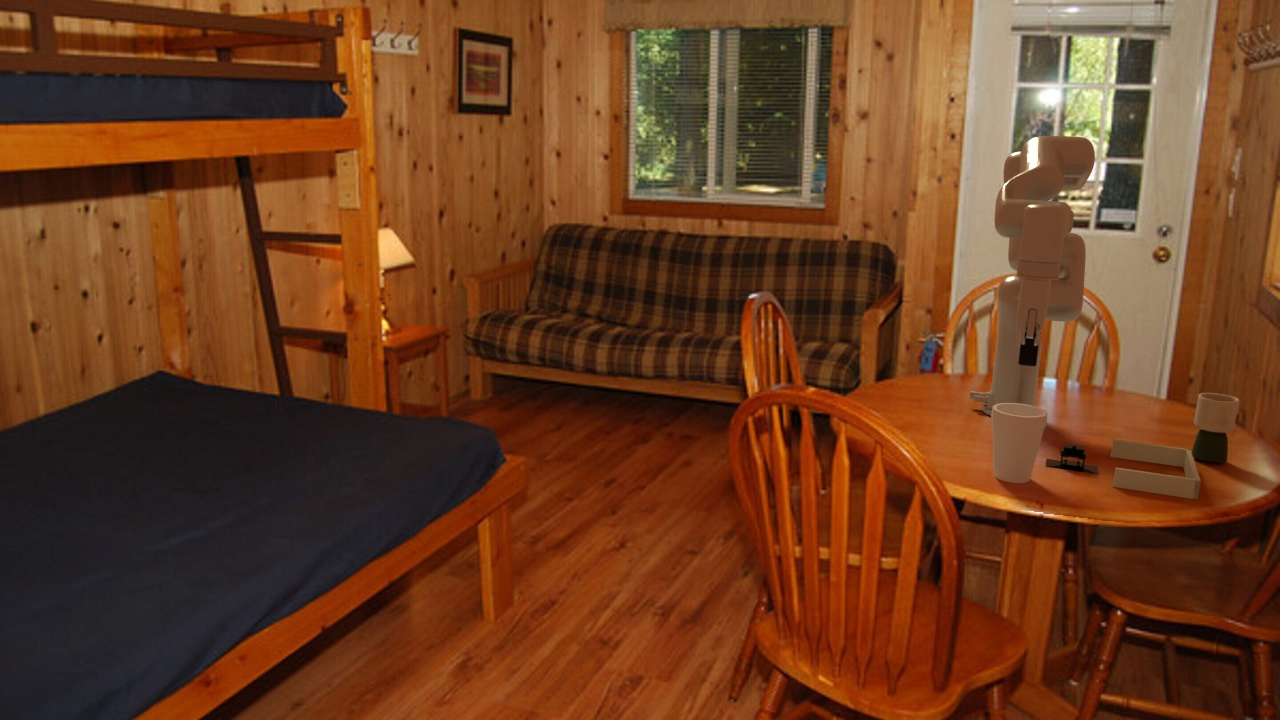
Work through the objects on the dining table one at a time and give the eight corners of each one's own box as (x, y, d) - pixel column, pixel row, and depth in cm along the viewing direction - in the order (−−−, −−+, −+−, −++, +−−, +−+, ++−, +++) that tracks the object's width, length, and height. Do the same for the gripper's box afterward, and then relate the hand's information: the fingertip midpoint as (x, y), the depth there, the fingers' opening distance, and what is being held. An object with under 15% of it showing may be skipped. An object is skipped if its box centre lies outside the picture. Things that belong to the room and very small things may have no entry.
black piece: (1036, 470, 191) (1038, 447, 190) (1037, 459, 197) (1039, 436, 196) (1107, 479, 186) (1110, 456, 185) (1105, 467, 193) (1108, 445, 192)
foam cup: (996, 485, 180) (1004, 416, 177) (977, 468, 189) (984, 402, 186) (1047, 486, 180) (1056, 417, 177) (1026, 469, 189) (1034, 403, 186)
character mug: (1242, 470, 192) (1253, 405, 188) (1204, 469, 192) (1215, 404, 189) (1212, 452, 202) (1222, 390, 199) (1176, 451, 202) (1186, 389, 199)
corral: (1113, 486, 181) (1115, 468, 180) (1110, 455, 198) (1113, 439, 197) (1197, 499, 175) (1200, 480, 175) (1187, 466, 193) (1190, 449, 192)
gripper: (1019, 264, 195) (1009, 355, 200) (1014, 273, 182) (1003, 370, 186) (1060, 267, 193) (1049, 359, 197) (1059, 276, 179) (1046, 375, 183)
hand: (1027, 364), depth 192 cm, fingers closed
